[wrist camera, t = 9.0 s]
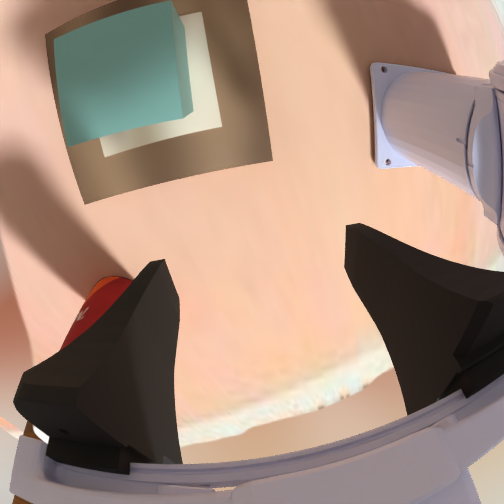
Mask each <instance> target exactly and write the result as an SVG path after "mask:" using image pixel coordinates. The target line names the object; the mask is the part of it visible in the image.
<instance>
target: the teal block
mask: <svg viewBox="0 0 504 504" xmlns="http://www.w3.org/2000/svg"><path fill="white" fill-rule="evenodd" d="M54 55H55V69H56V79H57V88H58V96H59V103H60V110H61V116H62V122H63V127H64V132H65V137H66V142H67V147H71V146H74V145H77V144H80V143H83V142H86V141H90V140H93V139H96V138H100V137H103V136H107V135H110V134H114V133H118V132H122V131H126V130H130V129H134V128H138V127H143V126H147V125H152V124H157V123H162V122H167V121H172V120H177V119H183V118H185V117H186V116H187V115H189V114H190V113H192V112H193V111H194V110H193V102H192V93H191V85H190V76H189V67H188V57H187V47H186V36H185V27H184V25H183V23H182V21H181V19H180V17H179V15H178V13H177V11H176V9H175V7H174V5H173V3H172V1H171V0H170V1H165V2H160V3H156V4H151V5H147V6H143V7H140V8H136V9H132V10H129V11H125V12H122V13H119V14H116V15H113V16H110V17H107V18H104V19H101V20H98V21H95V22H93V23H90V24H88V25H85V26H83V27H80V28H78V29H75V30H73V31H71V32H69V33H66V34H64V35H62V36H60V37H58V38H56V39H54Z"/></svg>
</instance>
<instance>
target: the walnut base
mask: <svg viewBox="0 0 504 504" xmlns="http://www.w3.org/2000/svg"><path fill="white" fill-rule="evenodd" d="M165 1H170V0H117V1H115V2H112V3H109V4H107V5H104V6H102V7H100V8H97V9H95V10H93V11H90V12H88V13H86V14H84V15H82V16H80V17H78V18H76V19H74V20H72V21H70V22H68V23H66V24H64V25H62V26H60V27H58V28H56V29H55V30H53V31H51V32H49V33H48V34H46V35H45V37H46V47H47V56H48V64H49V70H50V77H51V83H52V88H53V94H54V99H55V104H56V108H57V113H58V117H59V122H60V126H61V130H62V134H63V138H64V141H65V145H66V149H67V152H68V156H69V159H70V162H71V165H72V169H73V172H74V175H75V178H76V181H77V184H78V187H79V190H80V193H81V196H82V198H83V201H84V204H89V203H92V202H95V201H98V200H101V199H105V198H108V197H111V196H115V195H118V194H122V193H125V192H129V191H133V190H136V189H140V188H144V187H148V186H152V185H156V184H160V183H164V182H168V181H172V180H176V179H180V178H185V177H189V176H194V175H198V174H203V173H208V172H213V171H218V170H223V169H228V168H233V167H238V166H244V165H250V164H256V163H262V162H268V161H273V159H272V151H271V144H270V137H269V130H268V123H267V116H266V109H265V102H264V96H263V89H262V83H261V77H260V71H259V64H258V58H257V53H256V47H255V41H254V35H253V30H252V24H251V19H250V13H249V8H248V3H247V0H171V1H172V3H173V5H174V7H175V9H176V11H177V13H178V15H179V17H180V19H181V21H182V23H183V25H184V27H185V36H186V47H187V57H188V67H189V76H190V85H191V93H192V102H193V110H194V111H193V112H192V113H190V114H189V115H187V116H186V117H185V118H183V119H177V120H172V121H167V122H162V123H157V124H152V125H147V126H143V127H138V128H134V129H130V130H126V131H122V132H118V133H114V134H110V135H107V136H103V137H100V138H96V139H93V140H90V141H86V142H83V143H80V144H77V145H74V146H71V147H67V142H66V137H65V132H64V127H63V122H62V116H61V110H60V103H59V96H58V88H57V79H56V69H55V55H54V39H56V38H58V37H60V36H62V35H64V34H66V33H69V32H71V31H73V30H75V29H78V28H80V27H83V26H85V25H88V24H90V23H93V22H95V21H98V20H101V19H104V18H107V17H110V16H113V15H116V14H119V13H122V12H125V11H129V10H132V9H136V8H140V7H143V6H147V5H151V4H156V3H160V2H165Z"/></svg>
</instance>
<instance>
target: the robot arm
mask: <svg viewBox="0 0 504 504" xmlns="http://www.w3.org/2000/svg"><path fill="white" fill-rule="evenodd" d="M382 67H384V69H385V72H384V73H383V72H382V70H381V68H382ZM370 73H371V83H372V95H373V110H374V134H375V165H376V166H377V167H378V168H380V169H388V168H400V167H413V166H420V167H422V168H424V169H426V170H428V171H430V172H432V173H434V174H435V175H437V176H439V177H441V178H443V179H444V180H446V181H448V182H450V183H451V184H453V185H455V186H457V187H458V188H460V189H462V190H463V191H465V192H467V193H468V194H470V195H471V196H473V197H475V198H476V199H478V200H479V201H481V202H482V204H483V207H484V216H485V217H487V218H488V219H490V220H491V221H492V222H494V223H495V224H496V225H498V226H497V240H498V244H499V247H500V249H501V251H502V253H503V254H504V61H499V62H497V64H496V65H495V66H494V68H493V69H491V70H490V71H489V77H490V80H488V79H482V78H476V77H469V76H461V75H453V74H449V73H444V72H440V71H435V70H430V69H424V68H418V67H412V66H405V65H398V64H389V63H379V62H375V63H372V64H371V66H370ZM387 159H388V163H387V164H386V163H385V162H386V160H387ZM344 268H345V270H346V272H347V275H348V277H349V279H350V281H351V284H352V286H353V288H354V289H355V291H356V293H357V294H358V296H359V298H360V299H361V301H362V303H363V304H364V306H365V307H366V309H367V311H368V312H369V314H370V316H371V317H372V319H373V321H374V322H375V324H376V326H377V328H378V330H379V331H380V333H381V335H382V338H383V340H384V342H385V345H386V347H387V350H388V352H389V355H390V357H391V360H392V363H393V366H394V368H395V371H396V374H397V377H398V381H399V384H400V387H401V391H402V394H403V398H404V402H405V407H406V411H407V416H406V417H403V418H401V419H399V420H396V421H394V422H391V423H389V424H386V425H384V426H381V427H379V428H376V429H373V430H370V431H367V432H365V433H361V434H358V435H355V436H352V437H350V438H346V439H343V440H340V441H336V442H333V443H329V444H325V445H321V446H318V447H313V448H309V449H305V450H300V451H296V452H291V453H287V454H281V455H275V456H269V457H263V458H257V459H249V460H241V461H232V462H221V463H207V464H183V463H182V457H181V452H180V445H179V439H178V431H177V422H176V411H175V396H174V366H175V357H176V348H177V339H178V331H179V322H180V302H179V296H178V294H177V291H176V289H175V286H174V283H173V281H172V278H171V275H170V273H169V270H168V267H167V265H166V262H165V259H162V260H157V261H152V262H149V263H148V264H147V265H146V267H145V268H144V269H143V270H142V271H141V272H140V273H139V275H138V276H137V277H136V278H135V279H134V280H133V282H132V283H131V284H130V285H129V286H128V288H127V289H126V290H125V291H124V292H123V293H122V294H121V296H120V297H119V298H118V299H117V300H116V301H115V302H114V303H113V304H112V306H111V307H110V308H109V309H108V310H107V311H106V312H105V313H104V314H103V315H102V316H101V317H100V318H99V319H98V320H97V321H96V322H95V323H94V324H93V325H92V326H90V327H89V328H88V329H87V330H86V331H85V332H83V333H82V334H81V335H80V336H78V337H77V338H76V339H75V340H74V341H72V342H71V343H70V344H69V345H67V346H66V347H64V348H63V349H62V350H60V351H59V352H57V353H56V354H54V355H53V356H51V357H50V358H48V359H47V360H45V361H43V362H41V363H40V364H38V365H36V366H34V367H33V368H31V369H29V370H27V371H26V372H24V373H23V375H22V378H21V380H20V383H19V386H18V389H17V392H16V394H15V397H14V401H13V403H14V405H15V407H16V409H17V411H18V412H19V413H20V414H21V415H22V416H23V417H24V418H25V419H26V420H28V421H29V422H30V423H31V424H33V425H34V426H35V427H37V428H38V429H39V430H41V431H42V432H43V433H45V434H46V435H47V436H49V441H48V444H47V443H45V442H43V441H40V440H37V439H34V438H30V437H26V436H23V435H21V436H20V437H19V442H18V446H17V451H16V455H15V460H14V466H13V471H12V477H11V483H10V492H11V493H13V494H15V495H17V496H19V497H21V498H23V499H25V500H27V501H29V502H31V503H33V504H481V502H480V499H479V496H478V494H477V491H476V488H475V486H474V483H473V480H472V478H471V475H470V473H469V471H468V468H467V467H469V466H470V465H472V464H473V463H474V462H476V461H477V460H478V459H480V458H481V457H482V456H484V455H485V454H486V453H488V452H489V451H490V450H491V449H492V448H494V447H495V446H496V445H497V444H499V443H500V442H501V441H502V440H503V439H504V272H499V271H491V270H485V269H480V268H475V267H470V266H466V265H463V264H459V263H455V262H452V261H448V260H445V259H442V258H440V257H437V256H434V255H431V254H428V253H426V252H423V251H421V250H419V249H416V248H414V247H412V246H409V245H407V244H405V243H403V242H401V241H399V240H397V239H394V238H392V237H390V236H388V235H386V234H384V233H382V232H380V231H378V230H376V229H373V228H371V227H369V226H366V225H364V224H361V223H357V224H351V225H346V242H345V265H344ZM234 486H237V487H236V488H235V489H233V490H226V491H217V492H215V490H214V489H212V488H218V487H219V488H220V487H234Z"/></svg>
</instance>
